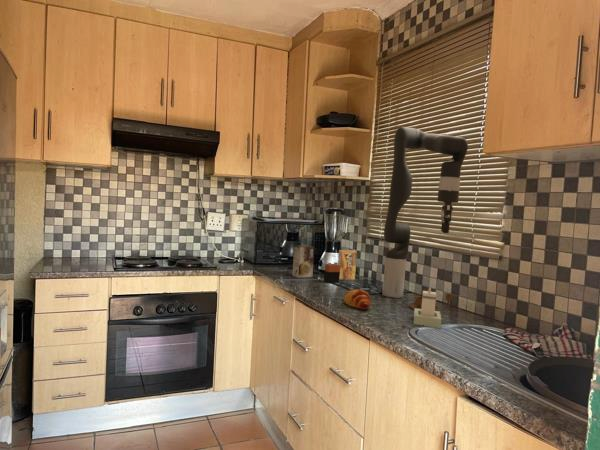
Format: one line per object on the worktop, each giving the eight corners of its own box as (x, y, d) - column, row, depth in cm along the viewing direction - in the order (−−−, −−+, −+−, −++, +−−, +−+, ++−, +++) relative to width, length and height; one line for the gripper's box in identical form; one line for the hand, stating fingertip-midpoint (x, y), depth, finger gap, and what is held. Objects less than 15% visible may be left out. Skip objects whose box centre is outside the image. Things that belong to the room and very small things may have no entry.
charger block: (420, 317, 163) (423, 286, 162) (433, 319, 161) (436, 287, 161) (420, 320, 158) (423, 288, 158) (433, 322, 157) (436, 290, 156)
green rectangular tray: (413, 316, 167) (414, 308, 166) (438, 319, 164) (439, 311, 164) (413, 324, 155) (414, 315, 155) (440, 327, 153) (441, 319, 153)
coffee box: (306, 275, 240) (308, 245, 239) (312, 277, 235) (315, 246, 234) (291, 275, 235) (294, 245, 234) (297, 277, 230) (300, 246, 229)
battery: (339, 283, 223) (341, 263, 223) (327, 283, 221) (328, 263, 220) (335, 281, 227) (336, 262, 227) (323, 281, 225) (325, 261, 224)
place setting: (403, 304, 189) (404, 290, 189) (449, 307, 190) (450, 293, 189) (415, 314, 171) (416, 299, 171) (466, 318, 172) (467, 303, 172)
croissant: (341, 306, 188) (334, 290, 187) (362, 296, 190) (355, 279, 188) (359, 319, 167) (351, 301, 166) (382, 307, 169) (374, 289, 168)
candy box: (351, 278, 241) (354, 250, 240) (354, 279, 237) (357, 251, 236) (336, 278, 238) (338, 249, 237) (339, 279, 234) (341, 250, 233)
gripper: (437, 189, 175) (433, 230, 176) (439, 188, 162) (435, 232, 163) (457, 191, 174) (453, 232, 174) (461, 189, 160) (456, 234, 161)
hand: (444, 232), depth 169 cm, fingers open, 8 cm apart
